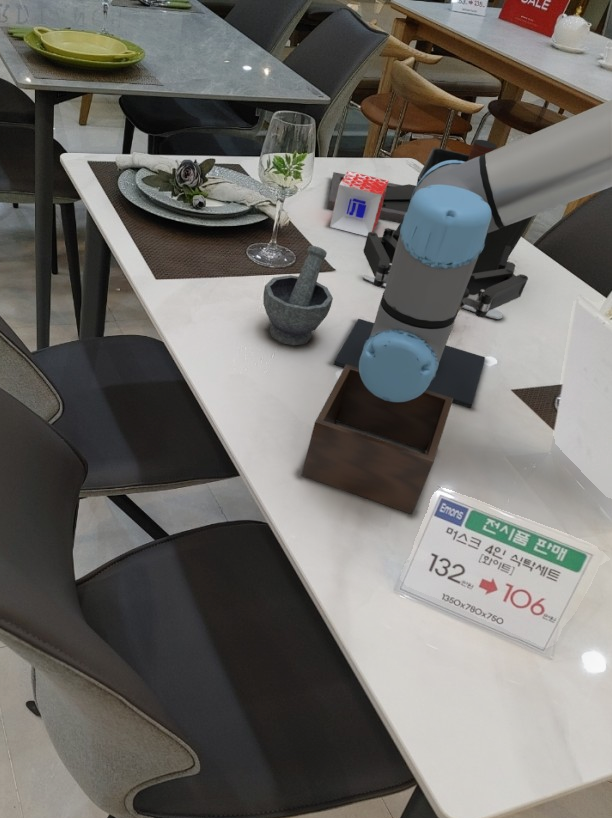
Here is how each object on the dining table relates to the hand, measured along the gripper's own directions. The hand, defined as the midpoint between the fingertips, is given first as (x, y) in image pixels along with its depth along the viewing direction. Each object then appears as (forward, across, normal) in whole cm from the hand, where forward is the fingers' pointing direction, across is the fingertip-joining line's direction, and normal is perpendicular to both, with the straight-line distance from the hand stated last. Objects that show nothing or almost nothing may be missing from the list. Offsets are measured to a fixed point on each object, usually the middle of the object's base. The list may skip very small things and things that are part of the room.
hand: (453, 241), depth 101 cm
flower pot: (+34, 0, -18) cm, 38 cm away
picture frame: (+56, -19, -18) cm, 61 cm away
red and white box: (+42, -20, -18) cm, 50 cm away
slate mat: (-1, 0, -18) cm, 18 cm away
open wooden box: (-27, 0, -18) cm, 33 cm away
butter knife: (+21, -1, -18) cm, 28 cm away
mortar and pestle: (-3, -18, -18) cm, 26 cm away
